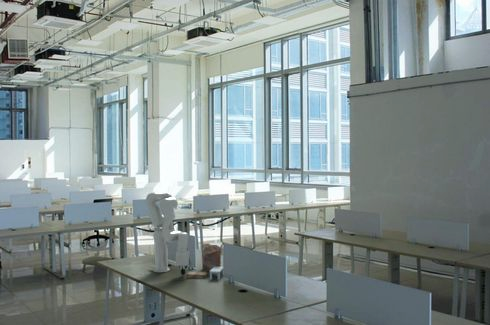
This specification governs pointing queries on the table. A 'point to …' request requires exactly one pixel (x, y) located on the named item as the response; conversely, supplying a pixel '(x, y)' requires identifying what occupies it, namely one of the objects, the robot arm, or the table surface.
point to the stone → (210, 256)
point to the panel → (197, 274)
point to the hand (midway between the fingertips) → (183, 274)
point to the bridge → (216, 272)
